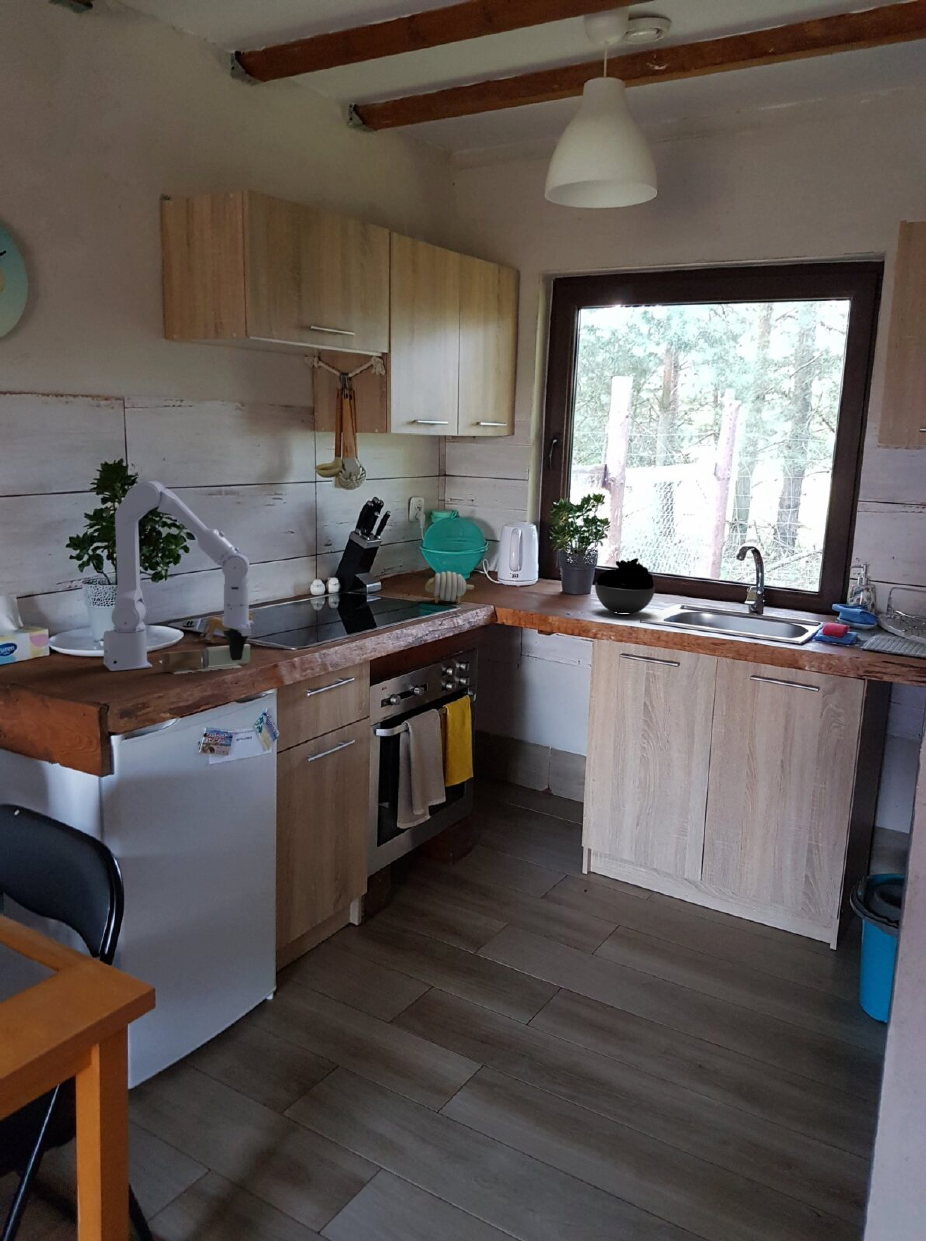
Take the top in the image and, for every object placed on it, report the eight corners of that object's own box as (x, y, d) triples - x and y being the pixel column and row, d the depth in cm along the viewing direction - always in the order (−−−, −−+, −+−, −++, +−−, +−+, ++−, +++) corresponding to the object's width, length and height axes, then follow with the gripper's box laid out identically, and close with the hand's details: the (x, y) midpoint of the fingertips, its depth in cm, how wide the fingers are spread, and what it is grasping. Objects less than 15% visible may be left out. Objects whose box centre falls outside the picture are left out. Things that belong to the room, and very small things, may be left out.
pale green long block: (203, 667, 223) (203, 649, 222) (201, 665, 225) (201, 647, 224) (250, 662, 229) (250, 645, 229) (247, 661, 231) (247, 643, 230)
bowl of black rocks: (617, 621, 306) (621, 564, 302) (581, 610, 323) (585, 555, 320) (665, 618, 316) (670, 562, 312) (627, 607, 333) (632, 554, 329)
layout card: (174, 674, 218) (174, 673, 218) (159, 661, 229) (159, 660, 229) (241, 667, 227) (241, 666, 227) (223, 655, 237) (223, 655, 237)
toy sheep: (422, 599, 330) (424, 568, 328) (470, 600, 332) (472, 569, 330) (425, 605, 320) (427, 573, 318) (475, 606, 322) (476, 574, 320)
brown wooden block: (165, 673, 217) (164, 654, 217) (160, 669, 220) (160, 651, 220) (203, 669, 222) (203, 651, 221) (198, 666, 225) (198, 648, 224)
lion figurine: (254, 641, 255) (254, 608, 254) (250, 645, 250) (250, 612, 248) (199, 639, 255) (199, 606, 253) (194, 643, 249) (194, 610, 248)
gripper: (263, 608, 220) (263, 664, 222) (242, 598, 232) (242, 651, 234) (234, 610, 216) (234, 667, 219) (213, 599, 228) (214, 654, 231)
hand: (236, 659), depth 226 cm, fingers closed
